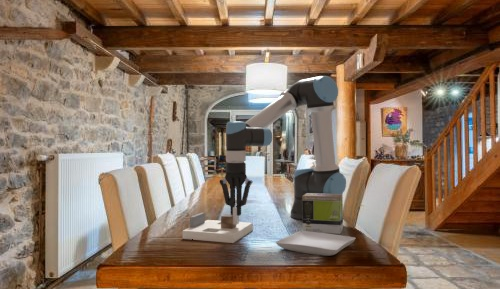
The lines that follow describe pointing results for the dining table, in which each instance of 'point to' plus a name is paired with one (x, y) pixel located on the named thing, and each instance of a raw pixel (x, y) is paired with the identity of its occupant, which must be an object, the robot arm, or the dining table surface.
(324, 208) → the tea box
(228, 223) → the walnut block
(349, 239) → the salad plate
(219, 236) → the platform
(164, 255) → the dining table surface
